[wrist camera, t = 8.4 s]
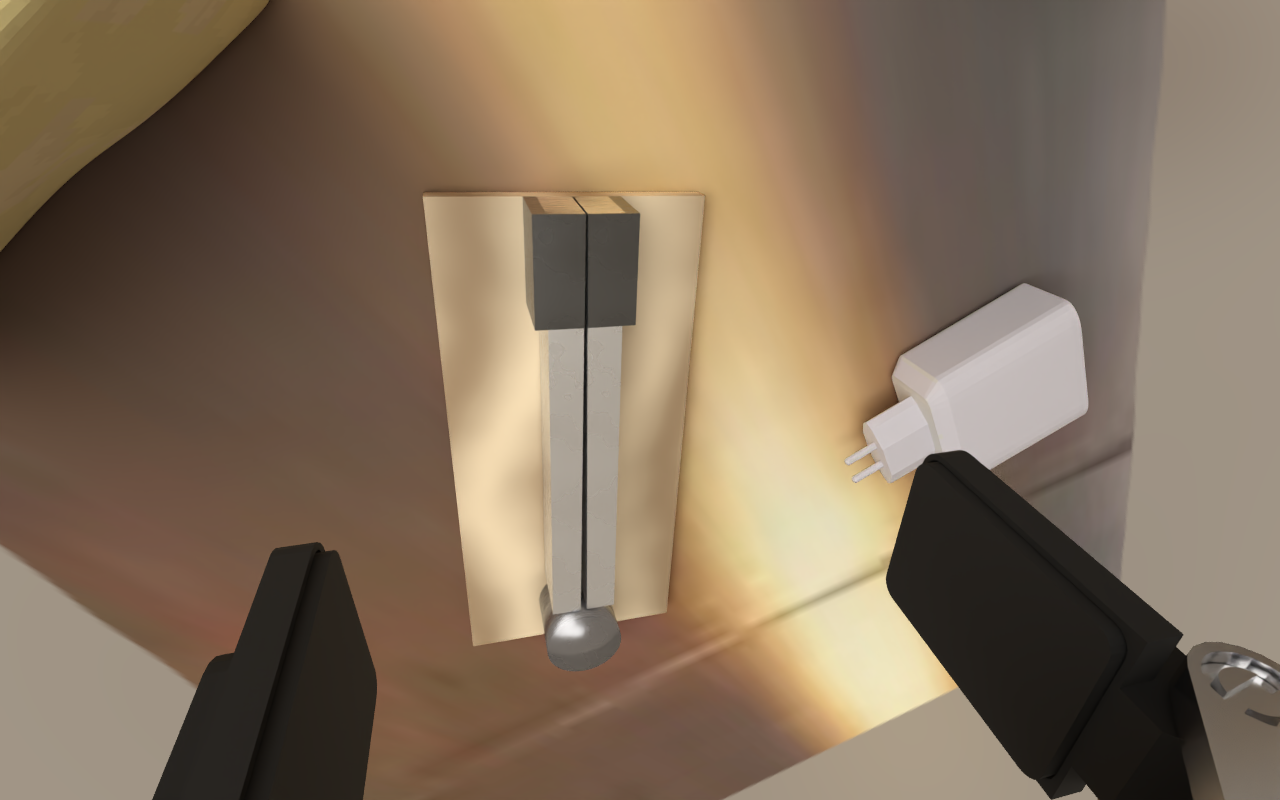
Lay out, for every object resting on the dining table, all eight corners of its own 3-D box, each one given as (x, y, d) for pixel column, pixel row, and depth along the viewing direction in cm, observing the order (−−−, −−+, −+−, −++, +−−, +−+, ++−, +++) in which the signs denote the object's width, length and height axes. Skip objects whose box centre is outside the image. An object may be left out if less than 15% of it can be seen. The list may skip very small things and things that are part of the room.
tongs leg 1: (570, 568, 40) (581, 611, 37) (535, 573, 39) (542, 617, 36) (571, 196, 29) (585, 214, 26) (522, 196, 28) (531, 214, 25)
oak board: (698, 191, 32) (705, 195, 31) (662, 601, 45) (666, 612, 44) (423, 192, 28) (422, 196, 28) (472, 633, 42) (473, 646, 41)
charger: (808, 401, 40) (1016, 278, 40) (848, 495, 45) (1033, 386, 45) (849, 440, 36) (1080, 304, 36) (887, 538, 41) (1090, 419, 41)
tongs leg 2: (610, 561, 40) (624, 603, 37) (576, 567, 40) (587, 610, 37) (620, 196, 30) (640, 213, 27) (573, 196, 29) (588, 214, 26)
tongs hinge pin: (607, 565, 40) (622, 612, 37) (606, 614, 43) (619, 663, 39) (538, 575, 39) (546, 625, 36) (540, 625, 41) (548, 677, 38)
